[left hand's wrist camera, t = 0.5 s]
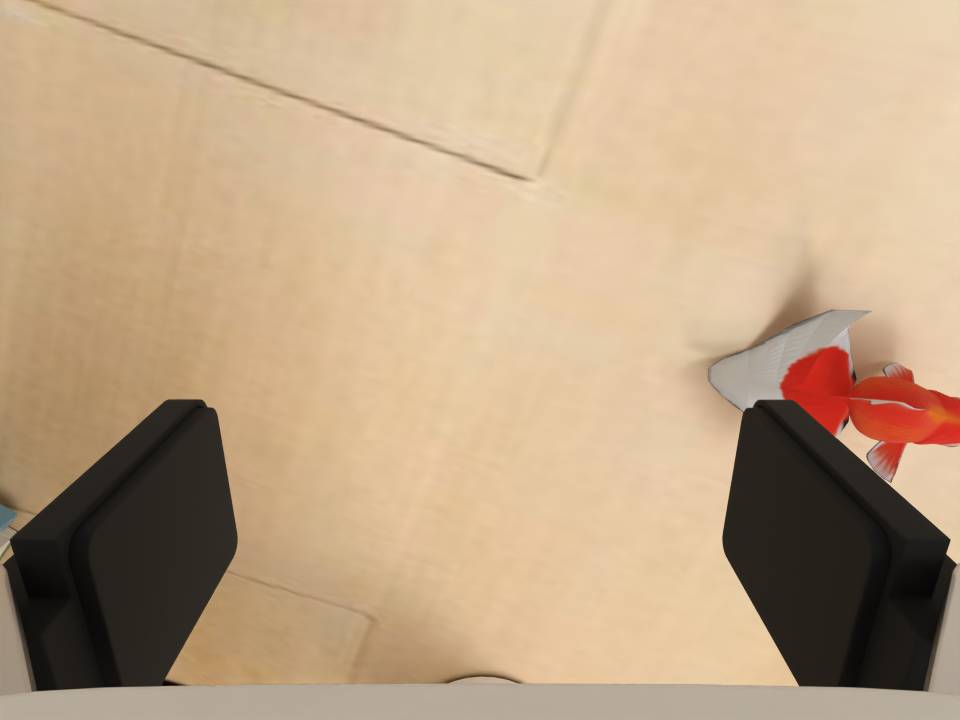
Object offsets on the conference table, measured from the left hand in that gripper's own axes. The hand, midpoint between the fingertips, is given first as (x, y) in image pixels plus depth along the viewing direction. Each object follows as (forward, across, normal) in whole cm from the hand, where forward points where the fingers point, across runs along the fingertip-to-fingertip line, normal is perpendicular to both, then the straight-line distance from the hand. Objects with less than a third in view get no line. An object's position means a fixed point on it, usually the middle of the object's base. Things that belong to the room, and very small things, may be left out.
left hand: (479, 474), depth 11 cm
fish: (+31, +23, -11) cm, 40 cm away
